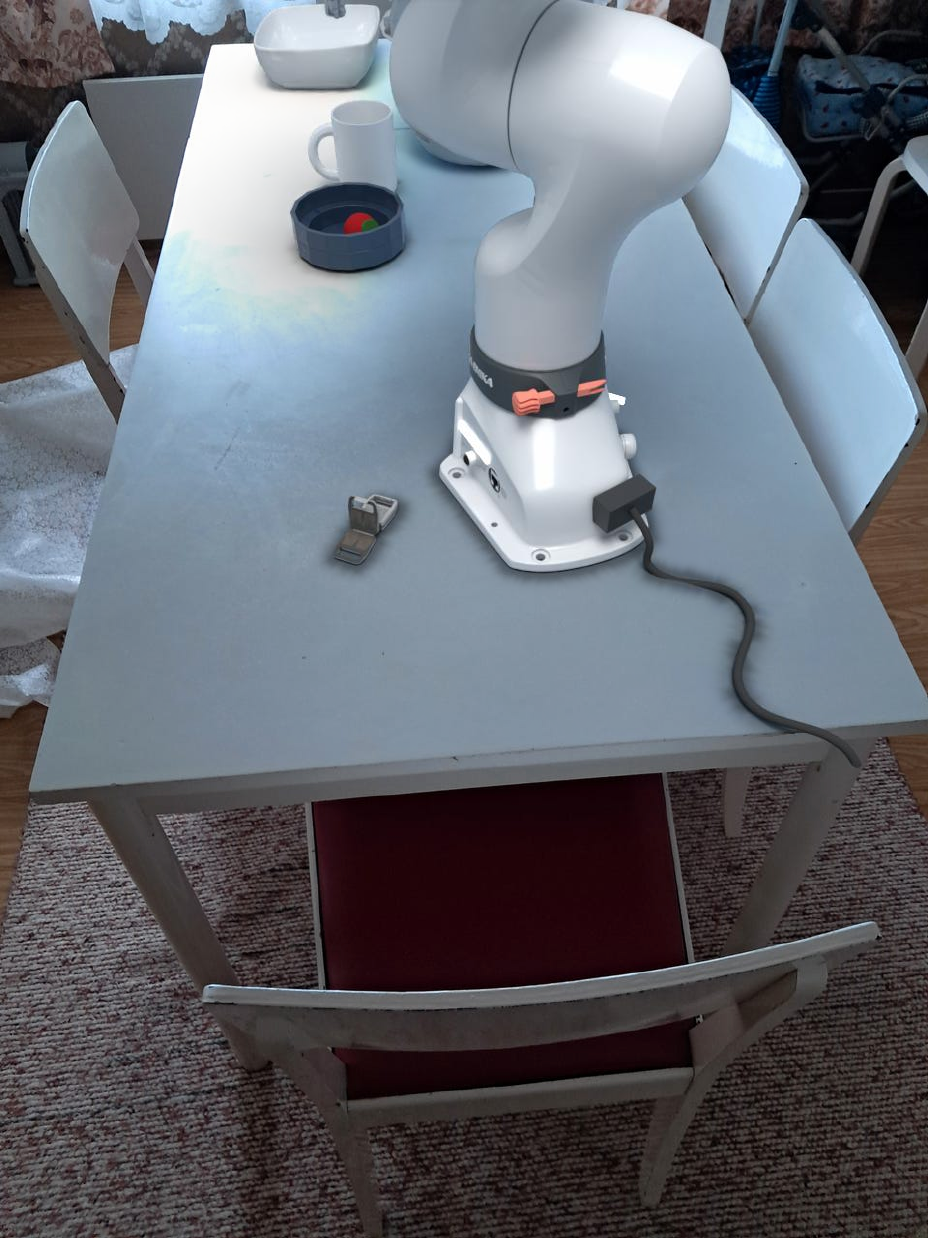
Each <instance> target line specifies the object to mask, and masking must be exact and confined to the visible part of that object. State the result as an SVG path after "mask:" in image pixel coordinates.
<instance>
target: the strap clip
mask: <svg viewBox="0 0 928 1238" xmlns="http://www.w3.org/2000/svg"><path fill="white" fill-rule="evenodd" d="M354 502H358V503H361V504H363V505H362V507H359V506H356V505H355V503H354ZM380 503H381V504H380ZM383 504H385V505H383ZM386 505H388V506H386ZM389 506H390V507H389ZM347 509H348V519H349V526H350V527H351V528H352V529H348V531H347V532H345V534H344V535H343V537H342V539H340V540H339V541H338V543H337V544H336V546H335V548H334V549H333V554H332V555H333V557H334V558H336V559H339V560H341V561H345V562H348V563H350V564H353V565H360V564H361V563H362V562H364V561H365V560H366V558H368V556H369V554H370V552H371V550H372V549H373V547H374V545H375V543H376V541H377V539H376V535H377V534H378V533H379V532H380V531H384V530H385V528H387V527H388V525H389V524H390V522H391V521H392V520H393V518H394V517H395V516H396V514H397V512H398V509H399V502H398V500H397V499H394V498H391V497H388V496H385V495H380V494H377V493H375V494H372V495H370V496H369V497H368V498H364V497H361V496H358V495H355V494H352V495H350V496H349V498H348V503H347ZM342 550H344V551H347V552H349V553H353V554H356V555H360V556H359V557H357V559H356V558H352V557H349V556H346V555H342V554H339V553H340V552H341V551H342Z"/></svg>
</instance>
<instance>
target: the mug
mask: <svg viewBox="0 0 928 1238" xmlns="http://www.w3.org/2000/svg"><path fill="white" fill-rule="evenodd" d="M330 119H331V120H330V121H331V122H327V123H323V124H321V125H319V126H318V127H317V128H316V129H314V130H313V132H312V134H311V135H310V138H309V141H308V146H307V153H308V159H309V162H310V165H311V166H312V168H313V169H314V171H315V172H316V173H317V174H318V175H319V176H321V177H322V178H323V179H326V180H329V181H338V183H343V182H362V183H371V184H375V185H379V186H383V187H386V188H388V189H390V190H391V191H393V192H395V193H396V191H397V188H398V166H397V165H398V163H397V151H396V137H395V125H394V124H395V123H394V111H393V108H392V106H391V105H389V104H388V103H386V102H383V101H380V100H377V99H354V100H348V101H345V102H343V103H339V104H338V105H336V106H334V107H333V109H332V110H331V111H330ZM327 137H333V143H334V152H335V161H336V167H337V168H328V167H327V166H325V165H324V164H323V163H322V161H321V160H320V157H319V145H320V143H321V141H322V140H323V139H324V138H327Z"/></svg>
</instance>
